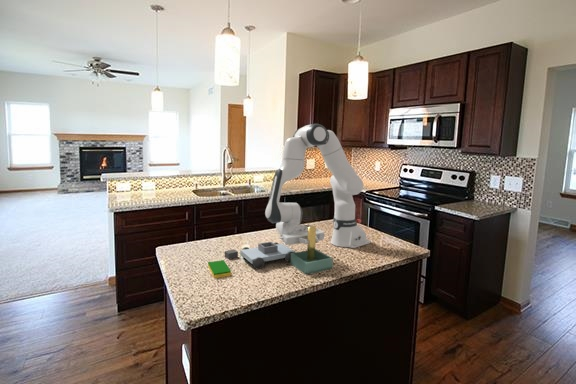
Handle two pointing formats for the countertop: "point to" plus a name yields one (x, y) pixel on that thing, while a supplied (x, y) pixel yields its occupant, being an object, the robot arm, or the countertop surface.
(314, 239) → the pin
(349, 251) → the countertop surface
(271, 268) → the countertop surface
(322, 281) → the countertop surface
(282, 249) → the trolley
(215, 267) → the dish sponge
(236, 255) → the wheel chock
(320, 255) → the tray
